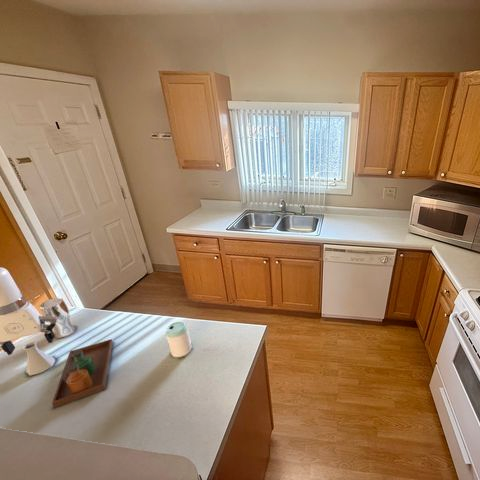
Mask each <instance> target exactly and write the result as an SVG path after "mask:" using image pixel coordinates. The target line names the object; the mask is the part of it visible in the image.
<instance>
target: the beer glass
mask: <svg viewBox="0 0 480 480" xmlns="http://www.w3.org/2000/svg"><path fill="white" fill-rule="evenodd" d="M38 307H39V309H40V310H39V311H40V312H41V316H48V317H57V322H56V325H55V327H54V328H53V329H52V330H53V332H54V334H55V338H58V339H61V338H65V337H68V336H70V335H72V334H73V333H74V332H75V331H76V327H75V326H74V325H73V323H72V321H71V314H70V311H69V310H70V309H69V307H68V305H67V304H66V302H65V300H64V298H62V297H54V298H50V299H46V300H45V301H43V302H41V303H40V304H39V306H38ZM47 324H48V325H50V324H51V322H47Z"/></svg>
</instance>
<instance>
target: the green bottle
mask: <svg viewBox="0 0 480 480" xmlns="http://www.w3.org/2000/svg"><path fill="white" fill-rule="evenodd" d="M78 349H79V350H76V349H75V350H76V351H74V352H73V353H72V356H73V357H74V358H75V360H74V361H73V362H72V364H78V366H79V370H81V369H86V370H87V371H88V373H89V375H92V374H93V373H94V372H95V370H96V366H95V364H94V362H93V360H92V357H91V356H90V355H83V351H82V350H81V349H80V348H78ZM72 364H71V365H72Z"/></svg>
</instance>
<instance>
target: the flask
mask: <svg viewBox="0 0 480 480" xmlns="http://www.w3.org/2000/svg"><path fill="white" fill-rule="evenodd" d="M37 345H38V343H37V342H36V341H33V342H32V341H31V342H29V343H27V344H25V345H23V347H22V349H23V350H24V351H25V352H26V356H27V357H26V359H27V360H26V370H25V371H26V374H28V376H34V375H38V374H42V373H44V372H45V371H47V370H48V369H50V368H53V366H54V364H55V363H56V359H55V358H54V357H53V356H51V355H50V354H48V353H45V352H44V351H42V350H41V349H40V348H38V346H37Z"/></svg>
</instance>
